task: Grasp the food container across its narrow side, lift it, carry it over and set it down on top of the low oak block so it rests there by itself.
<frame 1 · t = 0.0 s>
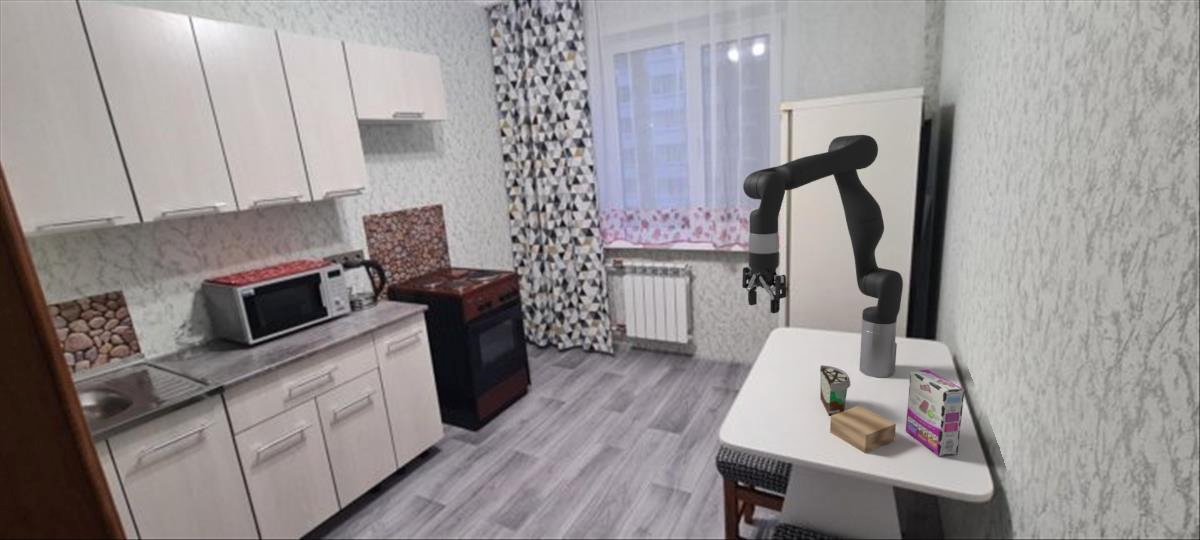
hand: (763, 308, 130), 29 cm above the table, fingers open, 8 cm apart
oak block: (861, 437, 120), on the table
candy bar box: (930, 443, 116), on the table
food container: (836, 408, 134), on the table
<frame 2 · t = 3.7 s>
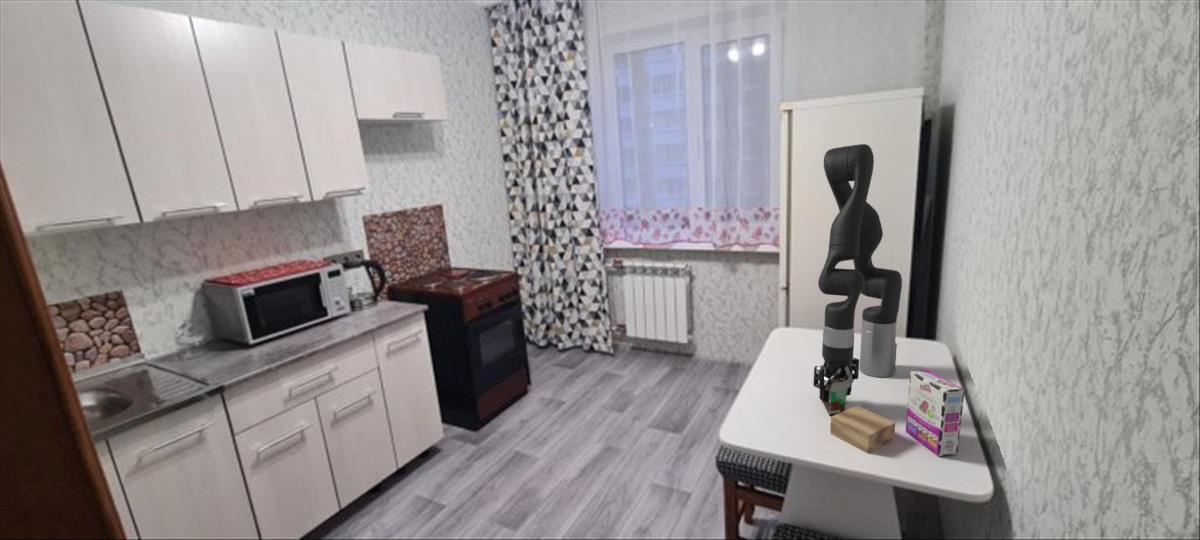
hand: (835, 397, 133), 3 cm above the table, fingers closed on food container, 7 cm apart
food container: (836, 408, 134), on the table, touching gripper
everything else where it was.
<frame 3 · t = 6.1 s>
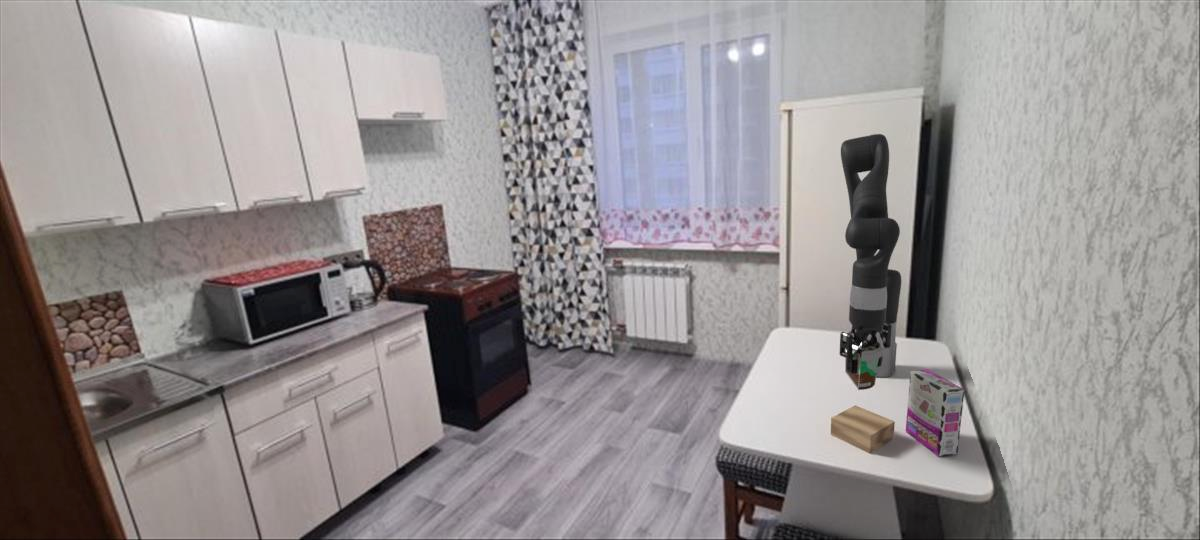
hand: (864, 369, 116), 18 cm above the table, fingers closed on food container, 7 cm apart
food container: (865, 381, 117), point 15 cm above the table, touching gripper
everything else where it was.
when the fingers open (10 cm above the table, at t = 9.3 s): food container stays where it is, resting on oak block.
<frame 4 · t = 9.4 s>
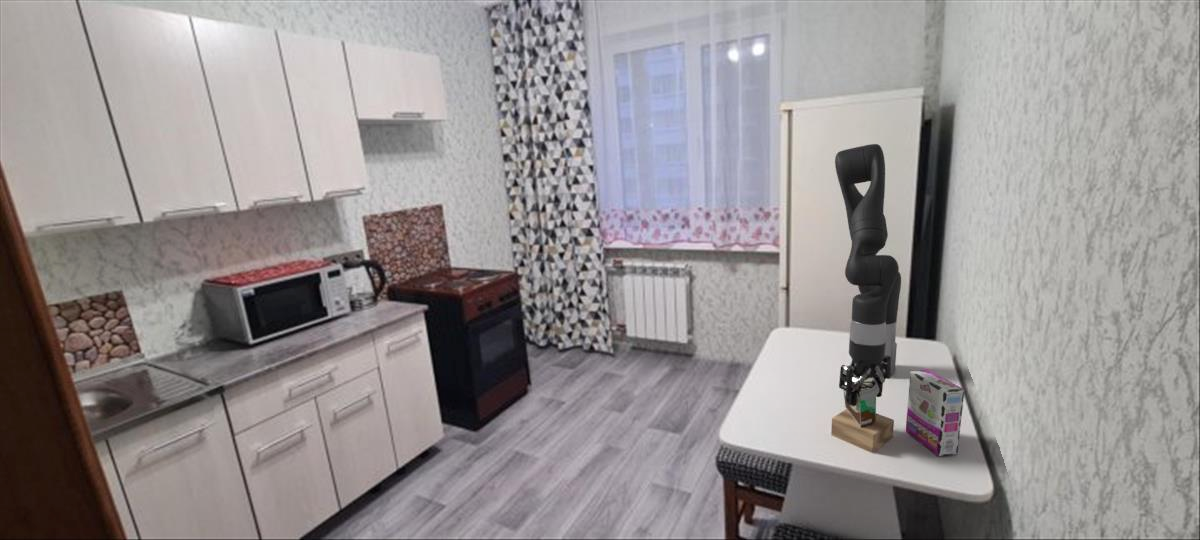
hand: (863, 400, 118), 10 cm above the table, fingers open, 8 cm apart
oak block: (861, 437, 121), on the table, touching food container
food container: (865, 416, 120), point 5 cm above the table, touching gripper, oak block
everything else where it was.
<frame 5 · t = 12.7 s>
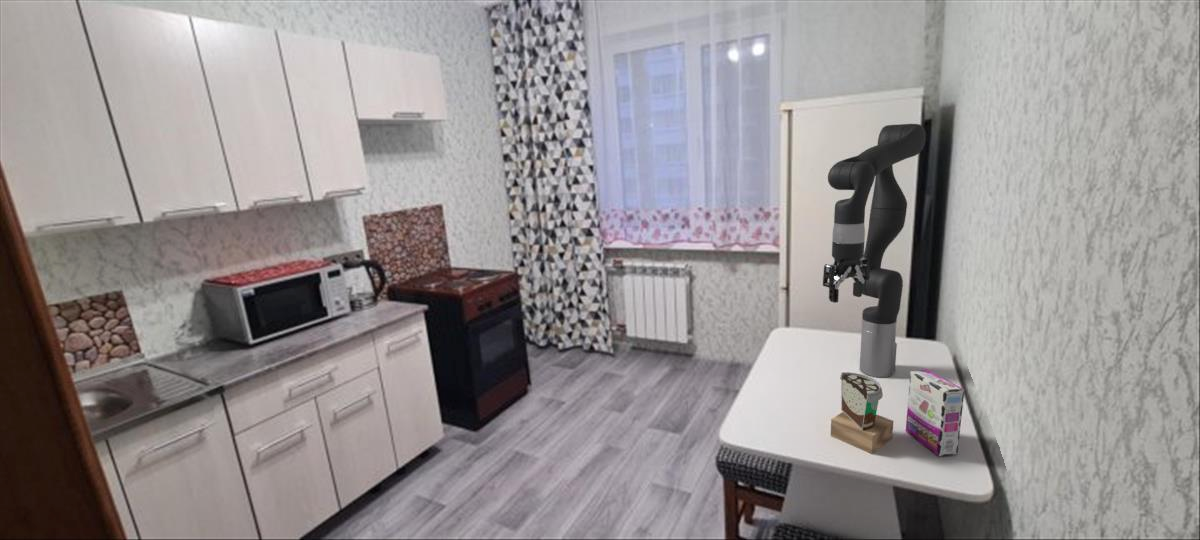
hand: (845, 299, 131), 30 cm above the table, fingers open, 8 cm apart
oak block: (860, 438, 120), on the table
food container: (863, 419, 119), point 4 cm above the table
everything else where it was.
at the end: food container inside the target area on the oak block (0.7 cm from its centre), point 4.8 cm above the oak block's base; food container tilted 1°; the gripper is holding nothing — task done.
